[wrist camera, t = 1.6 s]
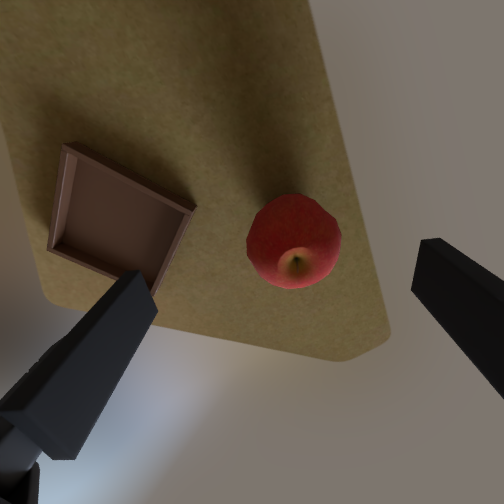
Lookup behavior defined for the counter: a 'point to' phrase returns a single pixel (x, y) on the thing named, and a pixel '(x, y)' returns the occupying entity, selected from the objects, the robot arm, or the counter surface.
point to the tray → (114, 217)
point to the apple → (293, 242)
